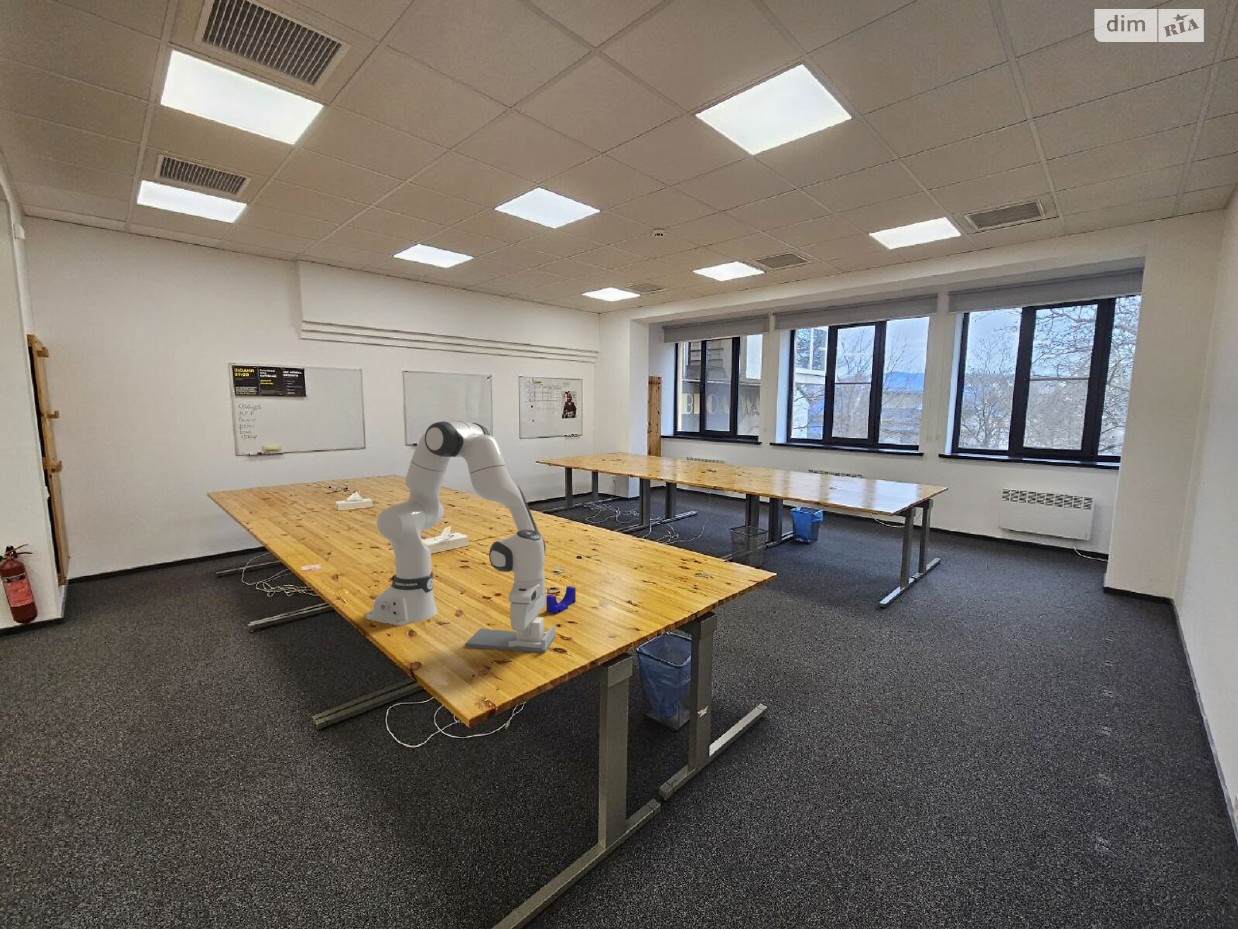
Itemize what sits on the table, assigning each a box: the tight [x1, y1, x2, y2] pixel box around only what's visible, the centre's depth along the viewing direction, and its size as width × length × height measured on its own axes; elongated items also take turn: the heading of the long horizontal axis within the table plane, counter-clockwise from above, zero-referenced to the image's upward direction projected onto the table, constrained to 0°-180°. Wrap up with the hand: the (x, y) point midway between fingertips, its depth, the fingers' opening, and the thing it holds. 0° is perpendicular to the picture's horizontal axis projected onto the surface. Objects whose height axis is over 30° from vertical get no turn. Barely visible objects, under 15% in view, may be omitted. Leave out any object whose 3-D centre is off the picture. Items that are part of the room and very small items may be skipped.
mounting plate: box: [464, 625, 556, 654], centre depth 148 cm, size 24×10×4 cm, turn 81°
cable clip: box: [545, 585, 577, 615], centre depth 175 cm, size 12×4×6 cm, turn 146°
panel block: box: [515, 616, 545, 642], centre depth 147 cm, size 7×4×6 cm, turn 81°
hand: (529, 632), depth 147 cm, fingers closed on panel block, 4 cm apart
